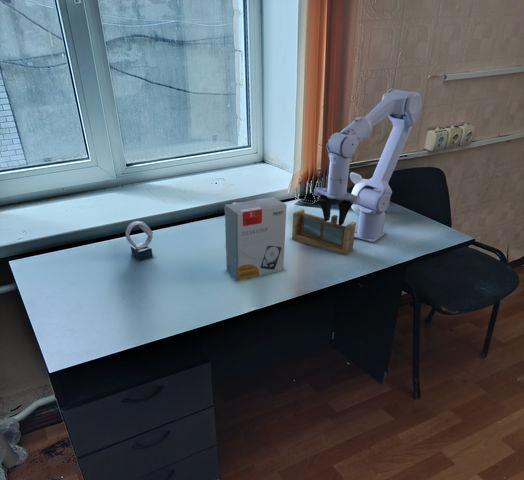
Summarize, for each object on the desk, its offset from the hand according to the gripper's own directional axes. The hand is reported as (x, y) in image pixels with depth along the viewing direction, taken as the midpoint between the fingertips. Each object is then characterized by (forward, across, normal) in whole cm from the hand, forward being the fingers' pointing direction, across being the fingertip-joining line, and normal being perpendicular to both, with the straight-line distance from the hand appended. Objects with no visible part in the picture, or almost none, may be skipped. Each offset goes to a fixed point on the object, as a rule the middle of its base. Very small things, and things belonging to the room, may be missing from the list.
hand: (333, 222), depth 149 cm
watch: (+9, -44, -40) cm, 60 cm away
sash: (+7, 0, 0) cm, 7 cm away
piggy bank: (+9, -6, +34) cm, 36 cm away
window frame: (+9, -4, +1) cm, 10 cm away
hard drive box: (+9, -10, -27) cm, 30 cm away
